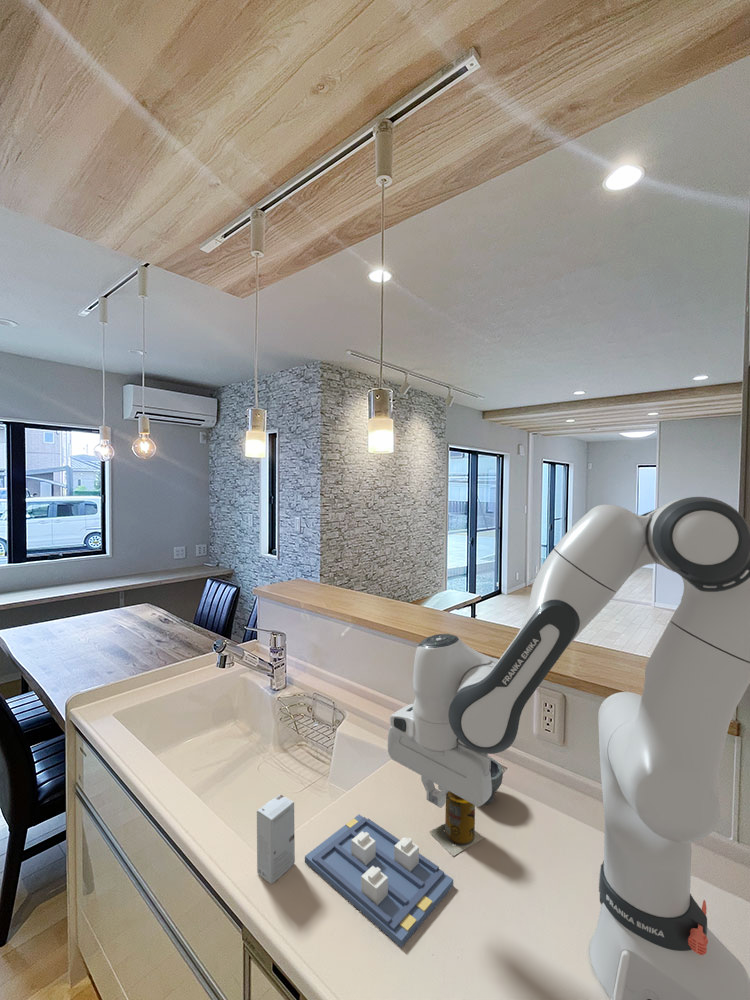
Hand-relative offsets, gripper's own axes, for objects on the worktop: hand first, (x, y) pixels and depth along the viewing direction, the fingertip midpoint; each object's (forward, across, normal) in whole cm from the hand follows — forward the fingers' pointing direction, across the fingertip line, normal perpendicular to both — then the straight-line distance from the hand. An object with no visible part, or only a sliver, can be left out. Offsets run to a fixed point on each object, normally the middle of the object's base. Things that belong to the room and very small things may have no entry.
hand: (435, 802), depth 81 cm
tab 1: (+15, +14, +4) cm, 21 cm away
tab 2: (+15, +7, +9) cm, 19 cm away
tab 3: (+15, +7, 0) cm, 16 cm away
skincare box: (+17, +25, +16) cm, 34 cm away
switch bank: (+16, +10, +4) cm, 20 cm away
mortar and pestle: (+16, +7, -28) cm, 33 cm away
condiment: (+17, +4, -14) cm, 22 cm away
